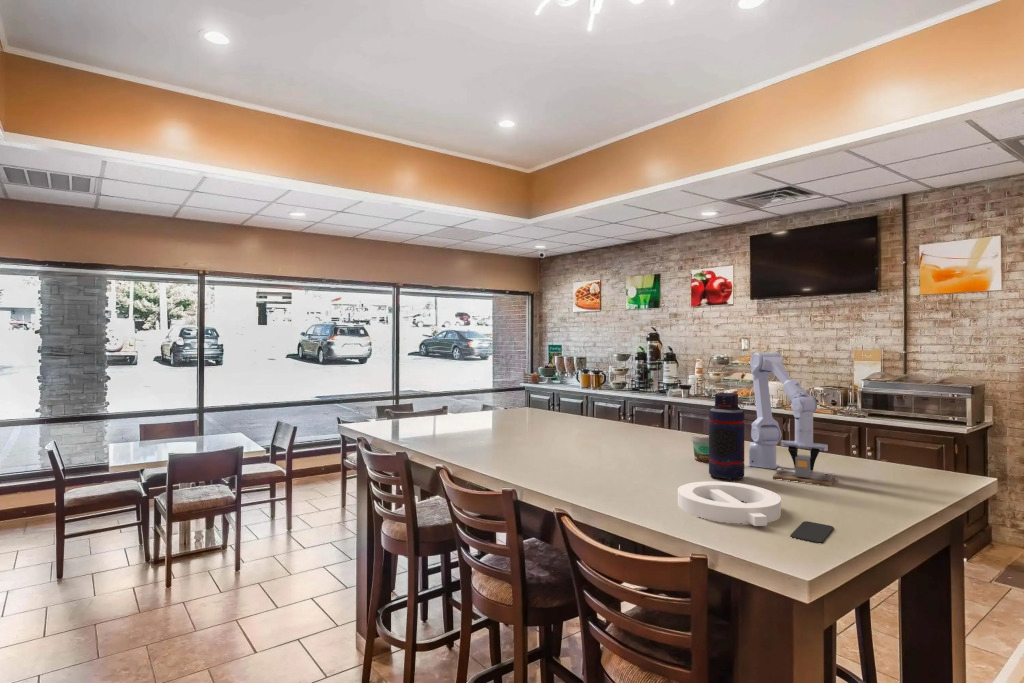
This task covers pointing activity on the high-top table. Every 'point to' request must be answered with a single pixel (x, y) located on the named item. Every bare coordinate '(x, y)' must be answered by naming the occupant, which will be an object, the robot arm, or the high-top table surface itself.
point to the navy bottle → (726, 437)
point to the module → (803, 465)
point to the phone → (812, 532)
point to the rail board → (814, 477)
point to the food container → (701, 449)
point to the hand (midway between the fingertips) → (803, 468)
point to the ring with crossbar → (730, 502)
